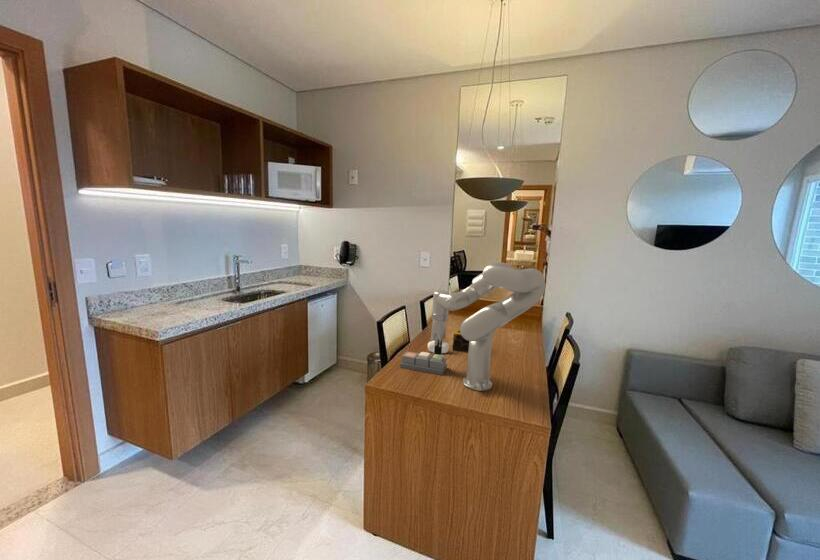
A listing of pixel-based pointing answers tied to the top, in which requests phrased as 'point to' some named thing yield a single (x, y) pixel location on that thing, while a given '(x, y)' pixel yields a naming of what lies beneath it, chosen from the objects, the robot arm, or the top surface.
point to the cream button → (424, 355)
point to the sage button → (438, 358)
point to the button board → (423, 364)
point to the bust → (444, 347)
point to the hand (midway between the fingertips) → (437, 353)
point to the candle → (459, 342)
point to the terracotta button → (410, 354)
